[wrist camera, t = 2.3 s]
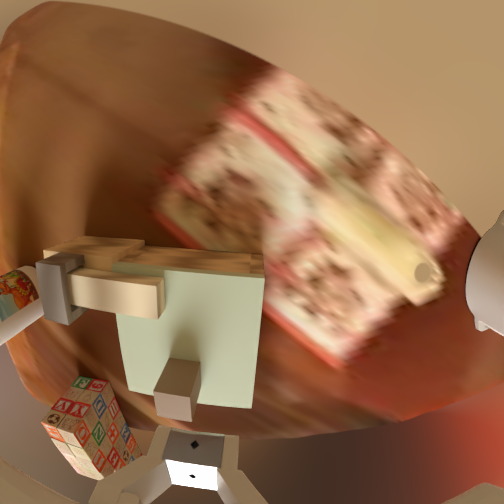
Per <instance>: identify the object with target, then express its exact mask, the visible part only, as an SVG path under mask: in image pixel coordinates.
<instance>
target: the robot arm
mask: <svg viewBox="0 0 504 504" xmlns="http://www.w3.org/2000/svg"><path fill="white" fill-rule="evenodd" d="M466 299H467V304H468V306H469V309H470V310H471V312H472V313H473V315H474V317H475V326H476V329H478V330H479V331H484V330H486V329H488V328H491V329H492V330H494V331H496V332H497V333H499V334H501V335H502V336H504V210H503V211H502V212H501V214H500V216H499V218H498V220H497V222H496V224H495V225H494V226H493V227H492V228H491V229H489V230H488V231H487V232H486V233H485V234H484V236H483V237H482V238H481V240H480V241H479V243H478V245H477V247H476V249H475V251H474V253H473V256H472V258H471V261H470V265H469V268H468V273H467V279H466ZM238 448H239V436H233V435H225V434H213V433H204V432H193V431H188V430H182V429H177V428H172V427H167V426H162V425H159V426H158V427H157V429H156V431H155V434H154V437H153V440H152V442H151V445H150V448H149V451H148V453H147V456H145V455H142V456H141V457H139V458H137V459H136V460H134V461H132V462H131V463H129V464H128V465H126V466H124V467H122V468H121V469H119V470H117V471H116V472H114V473H112V474H110V475H109V476H107V477H105V478H103V479H101V480H99V481H98V483H97V485H96V487H95V489H94V491H93V493H92V496H91V498H90V500H89V502H88V504H149V503H151V502H152V501H153V500H154V499H156V498H157V497H158V496H159V495H160V494H162V493H163V492H164V491H165V490H166V489H167V488H168V487H170V486H171V485H172V483H173V484H179V485H186V486H193V487H200V488H206V489H213V490H217V492H218V493H219V495H220V497H221V498H222V500H223V502H224V503H225V504H268V503H267V502H266V500H265V499H264V498H263V497H262V496H261V495H260V493H259V492H258V491H257V490H256V488H255V487H254V486H253V485H252V483H251V482H250V481H249V480H248V478H247V477H246V476H245V474H244V473H243V472H242V471H241V470H237V466H238ZM0 504H80V503H78V502H76V501H73V500H71V499H69V498H67V497H65V496H63V495H61V494H59V493H57V492H55V491H53V490H52V489H50V488H48V487H46V486H44V485H43V484H41V483H39V482H37V481H36V480H34V479H33V478H31V477H29V476H28V475H26V474H25V473H23V472H21V471H20V470H18V469H17V468H15V467H14V466H12V465H11V464H10V463H8V462H7V461H5V460H4V459H3V458H1V457H0ZM442 504H504V489H503V488H500V487H498V486H495V485H493V484H489V483H482V484H479V485H477V486H475V487H473V488H472V489H470V490H468V491H466V492H464V493H462V494H460V495H458V496H457V497H454V498H452V499H450V500H449V501H446V502H444V503H442Z"/></svg>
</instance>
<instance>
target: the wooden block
mask: <svg viewBox="0 0 504 504" xmlns="http://www.w3.org/2000/svg"><path fill="white" fill-rule="evenodd" d="M66 276H67V284H68V292H69V299H70V304H72V305H77V306H81V307H86V308H91V309H96V310H102V311H107V312H112V313H118V314H124V315H130V316H136V317H142V318H149V319H156V320H158V319H159V317H160V316H161V315H162V313H163V312H164V310H165V289H164V278H161V277H152V276H143V275H134V274H125V273H117V272H109V271H101V270H93V269H86V268H78V267H77V268H75V269H73V270H71V271H69V272H67V273H66Z"/></svg>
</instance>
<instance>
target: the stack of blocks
mask: <svg viewBox="0 0 504 504" xmlns="http://www.w3.org/2000/svg"><path fill="white" fill-rule="evenodd" d="M41 423H42V424H43V426H44V427H45V429H46V430H47V432H48V434H49V435H50V436H51V439H52V441H53V442H54V444H55V445H56V446H57V448H58V449H59V450H60V451H61V453H62V454H63V455H64V457H65V458H66V459H67V460H68V461H69V462H70V464H71V465H72V466H73V468H74V469H75V470H76V471H77V472H78V473H79V474H81V475H84V476H87V477H90V478H94V479H97V480H101V479H103V478H105V477H107V476H109V475H110V474H112V473H114V472H116V471H117V470H119V469H121V468H122V467H124V466H126V465H128V464H129V463H131V462H132V461H134V460H136V459H137V458H139V457H141V456H142V453H141V451H140V449H139V447H138V445H137V444H136V441H135V439H134V437H133V435H132V434H131V432H130V430H129V428H128V426H127V424H126V422H125V419H124V417H123V415H122V413H121V411H120V407H119V405H118V403H117V400H116V398H115V396H114V393H113V390H112V388H111V385H110V382H109V381H105V380H99V379H92V378H87V377H82V376H79V377H78V378H77V379H76V380H75V381H74V382H73V383H72V385H71V386H70V387H69V389H68V390H67V391H66V392H65V393H64V394H63V396H62V397H61V398H60V399H59V400H58V401H57V402H56V403H55V404H54V406H53V407H52V408H51V410H50V412H48V414H47V415H46V416H45V417H44V419H43V420H42V421H41Z"/></svg>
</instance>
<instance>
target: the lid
mask: <svg viewBox="0 0 504 504" xmlns="http://www.w3.org/2000/svg"><path fill="white" fill-rule="evenodd" d="M112 272H117V273H125V274H134V275H143V276H152V277H161V278H164V289H165V310H164V312H163V313H162V315H161V316H160V317H159V319H158V320H156V319H149V318H142V317H136V316H130V315H124V314H118V313H116V318H117V326H118V333H119V340H120V346H121V352H122V358H123V363H124V368H125V373H126V378H127V383H128V387H129V390H130V391H135V392H139V393H143V394H148V395H153V396H154V400H155V406H156V411H157V416H161V417H166V418H171V419H177V420H183V421H189V422H192V420H193V416H194V412H195V408H196V404H197V403H201V404H209V405H218V406H228V407H240V408H251V407H252V398H253V389H254V380H255V371H256V361H257V352H258V342H259V333H260V323H261V313H262V303H263V292H264V282H265V275H262V274H249V273H236V272H224V271H212V270H201V269H189V268H178V267H168V266H157V265H147V264H137V263H127V262H118V261H117V262H115V263H113V264H112Z"/></svg>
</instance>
